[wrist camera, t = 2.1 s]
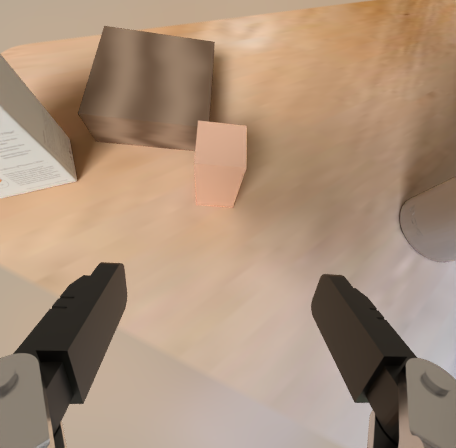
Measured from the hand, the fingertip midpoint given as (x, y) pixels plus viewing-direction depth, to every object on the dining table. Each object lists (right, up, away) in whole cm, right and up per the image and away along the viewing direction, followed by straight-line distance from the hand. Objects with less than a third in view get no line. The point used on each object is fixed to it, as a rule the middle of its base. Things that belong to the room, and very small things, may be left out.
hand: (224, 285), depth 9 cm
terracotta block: (-1, +7, +19) cm, 21 cm away
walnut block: (-9, +19, +23) cm, 31 cm away
